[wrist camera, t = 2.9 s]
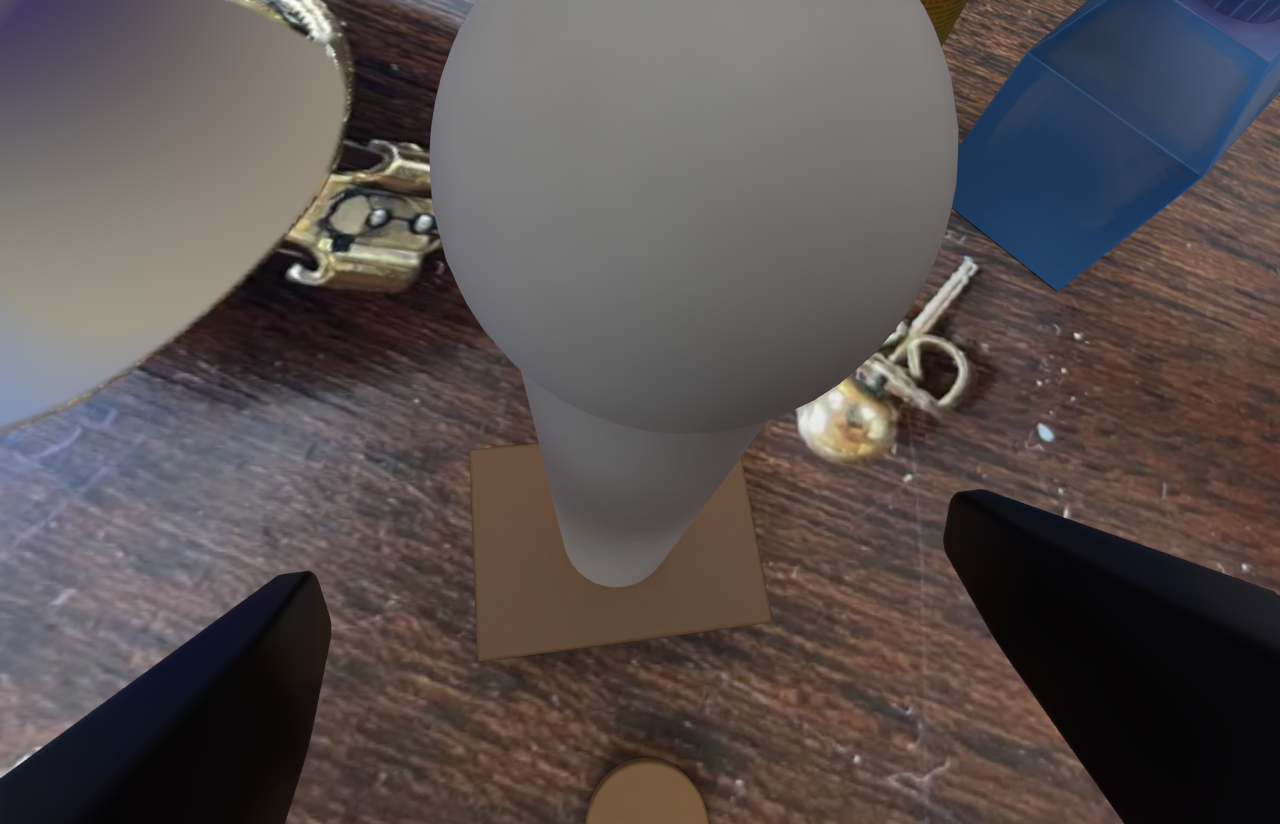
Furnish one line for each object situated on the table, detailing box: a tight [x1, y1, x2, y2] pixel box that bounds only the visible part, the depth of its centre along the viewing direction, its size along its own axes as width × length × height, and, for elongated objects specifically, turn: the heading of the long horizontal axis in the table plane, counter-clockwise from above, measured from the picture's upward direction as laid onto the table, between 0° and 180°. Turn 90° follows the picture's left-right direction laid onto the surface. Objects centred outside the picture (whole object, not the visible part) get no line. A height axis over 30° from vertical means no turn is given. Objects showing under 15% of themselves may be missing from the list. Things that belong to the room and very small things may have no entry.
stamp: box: [430, 0, 959, 661], centre depth 11 cm, size 5×7×18 cm
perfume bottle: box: [952, 0, 1280, 291], centre depth 20 cm, size 6×6×12 cm
